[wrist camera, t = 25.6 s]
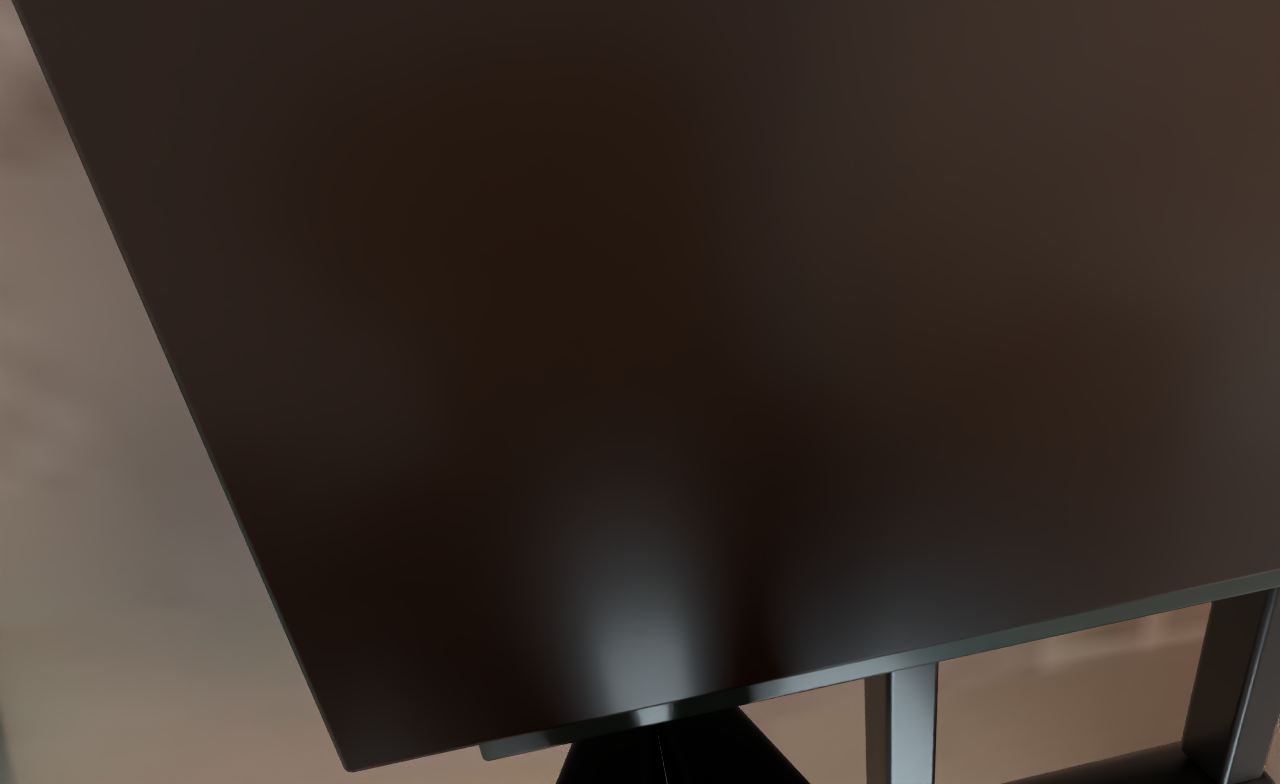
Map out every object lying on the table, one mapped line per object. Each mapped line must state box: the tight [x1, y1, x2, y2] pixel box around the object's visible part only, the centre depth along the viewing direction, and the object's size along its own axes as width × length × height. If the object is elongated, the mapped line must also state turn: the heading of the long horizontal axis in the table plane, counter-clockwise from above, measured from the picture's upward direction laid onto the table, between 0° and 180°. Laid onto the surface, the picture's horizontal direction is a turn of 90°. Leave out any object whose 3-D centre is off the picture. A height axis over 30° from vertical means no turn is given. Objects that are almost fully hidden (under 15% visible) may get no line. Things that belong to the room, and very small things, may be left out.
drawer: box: [479, 570, 1280, 784], centre depth 8 cm, size 15×13×6 cm
